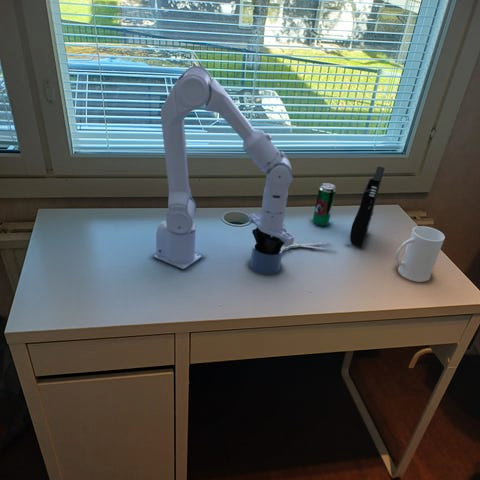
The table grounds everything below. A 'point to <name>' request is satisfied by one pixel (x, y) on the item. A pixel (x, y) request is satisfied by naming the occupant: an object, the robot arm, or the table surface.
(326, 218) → the soda can
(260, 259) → the cup
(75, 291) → the table surface
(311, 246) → the scissors
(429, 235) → the mug
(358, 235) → the black tapered piece
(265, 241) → the dark brown square post
